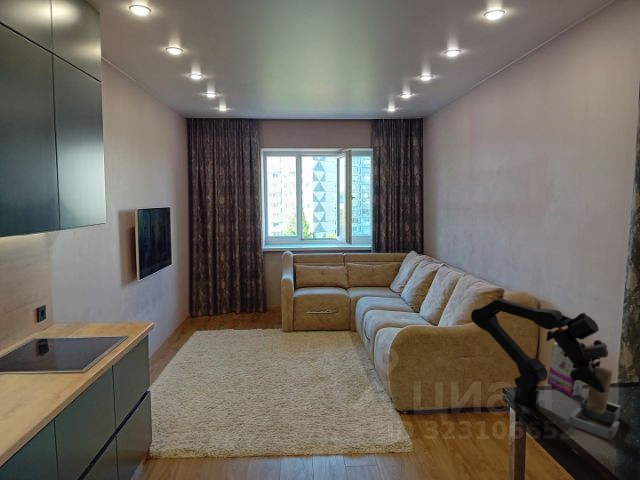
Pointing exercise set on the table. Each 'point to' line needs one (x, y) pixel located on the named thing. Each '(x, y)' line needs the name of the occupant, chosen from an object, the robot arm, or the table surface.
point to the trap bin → (607, 417)
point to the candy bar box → (563, 373)
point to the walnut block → (596, 398)
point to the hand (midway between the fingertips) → (604, 389)
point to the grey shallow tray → (592, 425)
